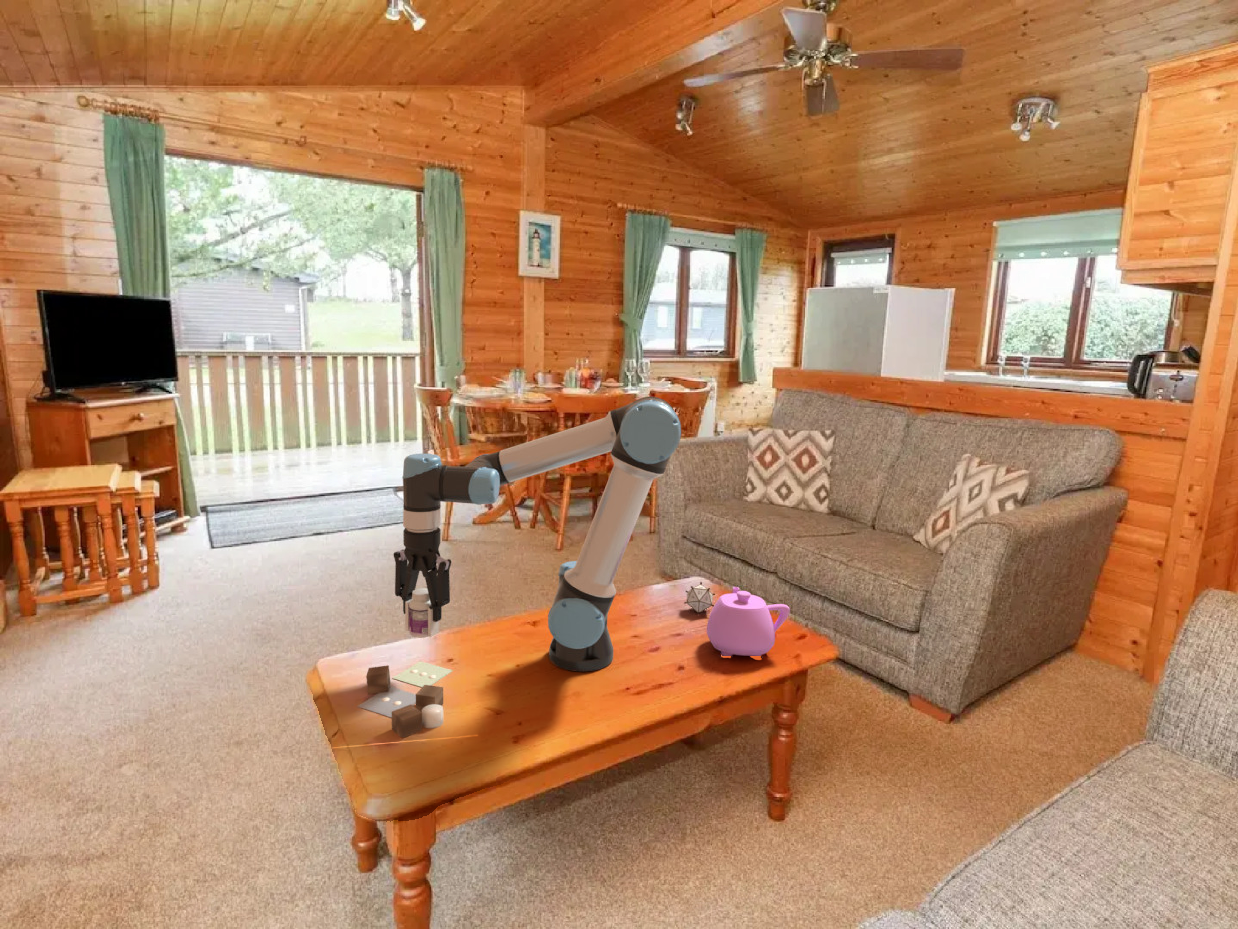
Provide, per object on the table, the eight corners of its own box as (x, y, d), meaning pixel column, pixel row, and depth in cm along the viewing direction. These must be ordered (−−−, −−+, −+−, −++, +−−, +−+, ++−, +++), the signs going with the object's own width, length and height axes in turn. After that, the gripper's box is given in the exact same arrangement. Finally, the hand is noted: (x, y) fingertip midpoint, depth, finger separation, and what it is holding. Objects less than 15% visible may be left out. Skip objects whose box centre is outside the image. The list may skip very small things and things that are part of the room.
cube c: (390, 683, 146) (388, 665, 146) (388, 691, 142) (386, 673, 142) (370, 685, 145) (368, 668, 145) (368, 694, 142) (366, 676, 141)
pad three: (452, 672, 153) (452, 670, 153) (425, 689, 145) (425, 688, 145) (420, 662, 157) (420, 661, 156) (392, 679, 148) (392, 678, 148)
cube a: (443, 705, 139) (443, 687, 139) (434, 715, 135) (434, 697, 135) (424, 703, 140) (424, 684, 139) (415, 713, 136) (415, 694, 135)
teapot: (776, 632, 182) (780, 578, 179) (792, 668, 162) (798, 607, 160) (701, 628, 182) (705, 574, 180) (708, 663, 163) (713, 603, 160)
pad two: (424, 698, 141) (424, 696, 141) (393, 719, 133) (393, 717, 133) (389, 688, 145) (389, 686, 145) (357, 707, 137) (357, 706, 137)
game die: (693, 626, 193) (675, 601, 189) (695, 605, 200) (678, 581, 196) (721, 616, 189) (704, 591, 186) (723, 595, 196) (706, 570, 193)
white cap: (447, 721, 134) (447, 707, 133) (434, 732, 130) (434, 717, 129) (431, 716, 135) (431, 702, 135) (417, 726, 132) (417, 712, 131)
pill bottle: (412, 628, 151) (412, 586, 150) (436, 628, 152) (437, 587, 150) (406, 638, 146) (406, 595, 144) (431, 639, 146) (432, 596, 145)
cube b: (411, 723, 133) (422, 732, 130) (391, 731, 130) (402, 740, 127) (411, 704, 132) (422, 712, 129) (391, 711, 129) (402, 720, 126)
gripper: (468, 530, 144) (467, 634, 149) (400, 517, 152) (400, 616, 156) (446, 538, 138) (445, 647, 142) (375, 524, 145) (376, 628, 149)
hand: (422, 631), depth 149 cm, fingers closed on pill bottle, 5 cm apart
